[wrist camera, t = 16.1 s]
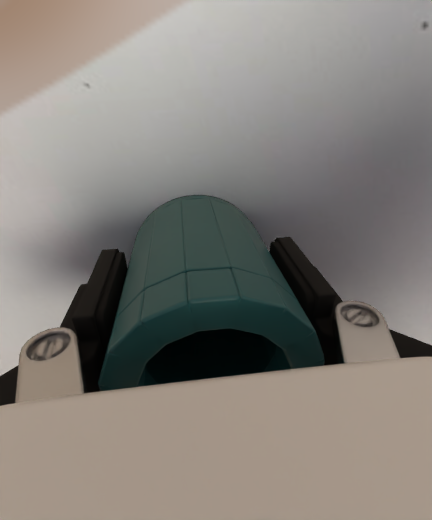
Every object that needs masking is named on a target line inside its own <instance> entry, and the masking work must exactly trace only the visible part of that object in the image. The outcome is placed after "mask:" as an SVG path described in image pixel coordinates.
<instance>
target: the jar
mask: <svg viewBox="0 0 432 520" xmlns="http://www.w3.org/2000/svg"><path fill="white" fill-rule="evenodd" d="M324 362H325V360H324V354H323V351H322V348H321V345H320V342H319V339H318V336H317V334H316V331H315V329H314V328H313V326H312V324H311V322H310V321H309V319H308V317H307V316H306V314H305V312H304V311H303V309H302V307H301V306H300V304H299V302H298V300H297V298H296V297H295V295H294V293H293V292H292V290H291V288H290V287H289V285H288V283H287V281H286V280H285V278H284V276H283V275H282V273H281V271H280V270H279V268H278V266H277V265H276V263H275V261H274V259H273V258H272V256H271V254H270V253H269V251H268V249H267V248H266V246H265V244H264V243H263V241H262V239H261V237H260V236H259V234H258V232H257V231H256V229H255V227H254V226H253V224H252V223H251V222H250V221H249V220H248V218H247V217H246V216H245V215H244V214H243V213H242V212H241V211H240V210H239V209H238V208H236V207H235V206H234V205H232V204H230V203H229V202H226V201H224V200H222V199H219V198H215V197H211V196H204V195H193V196H185V197H181V198H177V199H174V200H172V201H169V202H167V203H165V204H163V205H162V206H160V207H159V208H157V209H156V210H155V211H153V212H152V213H151V214H150V215H149V216H148V217H147V219H146V220H145V221H144V223H143V224H142V226H141V228H140V229H139V231H138V234H137V237H136V240H135V244H134V247H133V251H132V254H131V258H130V262H129V266H128V270H127V273H126V277H125V281H124V285H123V289H122V293H121V296H120V300H119V304H118V308H117V312H116V316H115V319H114V323H113V327H112V331H111V335H110V339H109V342H108V346H107V350H106V354H105V358H104V362H103V366H102V369H101V373H100V377H99V381H98V385H99V388H100V391H108V390H116V389H125V388H133V387H141V386H150V385H158V384H166V383H175V382H183V381H192V380H201V379H209V378H218V377H227V376H235V375H244V374H253V373H262V372H271V371H280V370H289V369H298V368H307V367H316V366H324Z"/></svg>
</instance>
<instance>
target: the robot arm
mask: <svg viewBox="0 0 432 520" xmlns="http://www.w3.org/2000/svg"><path fill="white" fill-rule="evenodd" d="M270 254H271V256H272V258H273V259H274V261H275V263H276V265H277V266H278V268H279V270H280V271H281V273H282V275H283V276H284V278H285V280H286V281H287V283H288V285H289V287H290V288H291V290H292V292H293V293H294V295H295V297H296V298H297V300H298V302H299V304H300V306H301V307H302V309H303V311H304V312H305V314H306V316H307V317H308V319H309V321H310V322H311V324H312V326H313V328H314V329H315V331H316V334H317V336H318V339H319V342H320V345H321V348H322V351H323V354H324V360H325V362H324V366H316V367H307V368H298V369H289V370H280V371H271V372H262V373H253V374H244V375H235V376H227V377H218V378H209V379H201V380H192V381H183V382H175V383H166V384H158V385H150V386H141V387H133V388H125V389H116V390H108V391H100V388H99V385H98V381H99V377H100V373H101V369H102V366H103V362H104V358H105V354H106V350H107V346H108V342H109V339H110V335H111V331H112V327H113V323H114V319H115V316H116V312H117V308H118V304H119V300H120V296H121V293H122V289H123V285H124V281H125V277H126V273H127V270H128V269H127V264H126V258H125V254H124V252H119V250H118V249H108V250H102V252H101V254H100V256H99V258H98V261H97V263H96V265H95V267H94V269H93V272H92V274H91V276H90V278H89V281H88V283H87V284H82V285H80V287H79V289H78V291H77V293H76V295H75V297H74V299H73V301H72V303H71V305H70V307H69V309H68V311H67V313H66V315H65V318H64V320H63V322H62V324H61V326H60V327H57V328H52V329H48V330H45V331H43V332H40V333H38V334H37V335H35V336H33V337H32V338H31V339H30V340H28V341H27V342H26V343H25V345H24V346H23V347H22V349H21V352H20V356H19V365H18V366H16V367H15V368H13V369H11V370H10V371H8V372H6V373H5V374H3V375H2V376H0V520H432V345H429V344H426V343H424V342H421V341H419V340H416V339H413V338H411V337H408V336H406V335H403V334H400V333H398V332H395V331H393V330H390V329H389V328H388V326H387V323H386V321H385V318H384V316H383V315H382V313H381V312H380V311H378V310H377V309H376V308H374V307H373V306H371V305H369V304H366V303H363V302H359V301H342V299H341V298H340V297H339V296H338V294H337V293H336V292H335V291H334V289H333V288H332V287H331V286H330V285H329V283H328V282H327V281H326V280H325V278H324V277H323V276H322V275H321V273H320V272H319V271H318V270H317V268H316V267H314V266H313V265H312V264H311V262H310V261H309V260H308V259H307V257H306V256H305V255H304V254H303V252H302V251H301V250H300V249H299V247H298V246H297V245H296V244H295V242H294V241H293V240H292V239H291V238H290V237H284V238H276V239H275V242H271V244H270Z"/></svg>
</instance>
